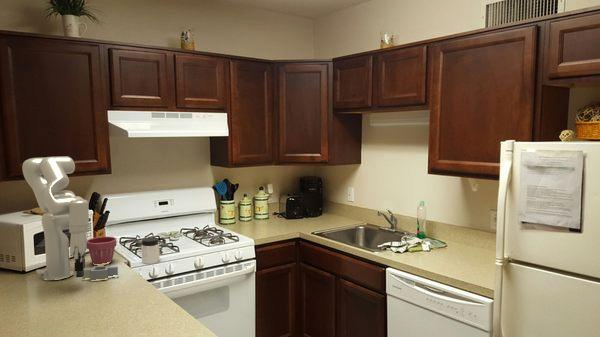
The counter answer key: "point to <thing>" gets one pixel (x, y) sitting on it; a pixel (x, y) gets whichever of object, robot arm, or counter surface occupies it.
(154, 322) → the counter surface
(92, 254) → the plant pot
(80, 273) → the hinge pin
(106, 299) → the counter surface
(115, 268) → the hinge
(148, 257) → the jar
